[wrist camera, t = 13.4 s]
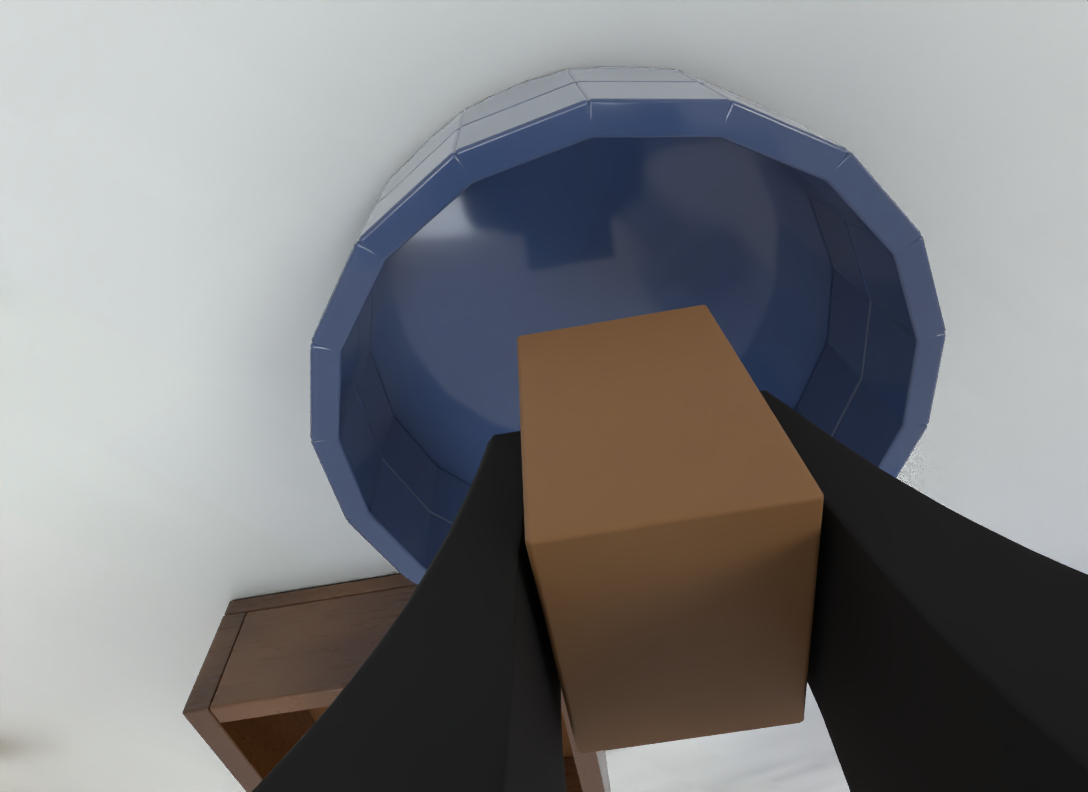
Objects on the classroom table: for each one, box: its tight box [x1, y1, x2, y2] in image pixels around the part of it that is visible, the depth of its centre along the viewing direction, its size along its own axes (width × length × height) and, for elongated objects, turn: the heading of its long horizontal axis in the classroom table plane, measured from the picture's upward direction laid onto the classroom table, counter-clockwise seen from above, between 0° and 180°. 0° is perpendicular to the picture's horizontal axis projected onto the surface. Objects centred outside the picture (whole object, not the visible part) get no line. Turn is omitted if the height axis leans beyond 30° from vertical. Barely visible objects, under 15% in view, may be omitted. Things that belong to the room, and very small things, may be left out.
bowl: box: [310, 66, 945, 585], centre depth 16 cm, size 13×13×4 cm
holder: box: [183, 574, 610, 792], centre depth 24 cm, size 12×13×4 cm
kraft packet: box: [517, 305, 824, 754], centre depth 9 cm, size 3×4×4 cm
